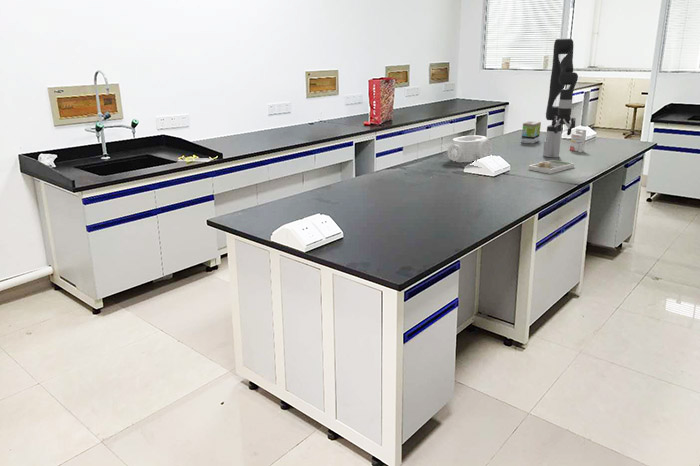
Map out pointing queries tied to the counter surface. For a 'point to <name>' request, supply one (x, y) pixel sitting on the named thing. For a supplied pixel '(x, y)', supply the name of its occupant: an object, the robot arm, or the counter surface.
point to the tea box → (530, 132)
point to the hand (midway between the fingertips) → (562, 134)
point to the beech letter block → (544, 164)
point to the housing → (469, 148)
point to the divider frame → (552, 166)
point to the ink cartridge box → (578, 140)
